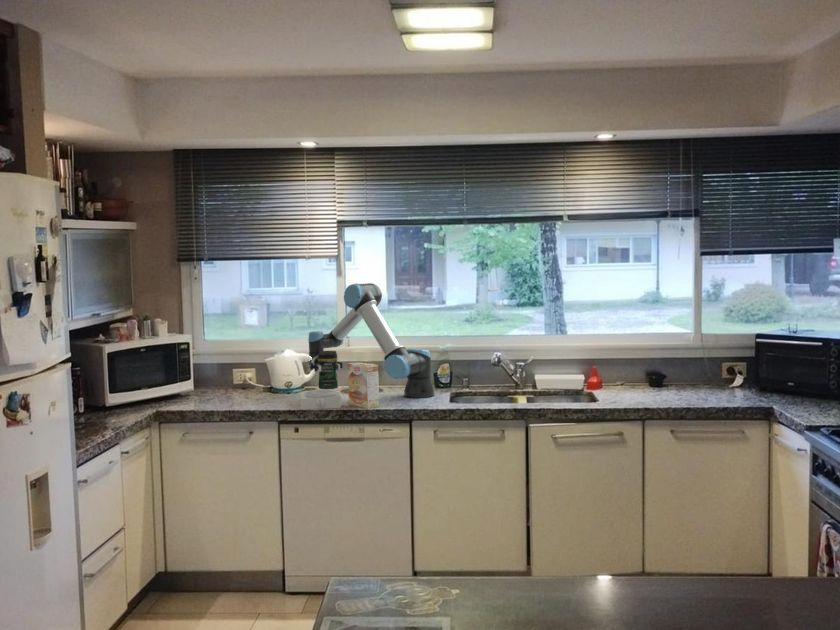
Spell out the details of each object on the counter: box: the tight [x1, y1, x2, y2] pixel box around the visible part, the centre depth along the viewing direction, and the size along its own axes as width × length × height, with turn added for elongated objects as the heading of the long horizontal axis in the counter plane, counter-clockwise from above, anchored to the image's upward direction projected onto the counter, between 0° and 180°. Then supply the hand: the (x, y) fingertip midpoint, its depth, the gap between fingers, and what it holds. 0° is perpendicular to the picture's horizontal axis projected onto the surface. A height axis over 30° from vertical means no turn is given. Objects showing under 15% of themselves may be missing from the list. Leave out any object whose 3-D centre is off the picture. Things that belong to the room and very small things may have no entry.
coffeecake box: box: [347, 361, 380, 409], centre depth 354 cm, size 15×7×20 cm, turn 40°
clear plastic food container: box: [300, 389, 342, 410], centre depth 355 cm, size 18×16×6 cm
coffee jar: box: [318, 350, 339, 390], centre depth 374 cm, size 10×8×19 cm
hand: (330, 368), depth 369 cm, fingers closed on coffee jar, 9 cm apart
